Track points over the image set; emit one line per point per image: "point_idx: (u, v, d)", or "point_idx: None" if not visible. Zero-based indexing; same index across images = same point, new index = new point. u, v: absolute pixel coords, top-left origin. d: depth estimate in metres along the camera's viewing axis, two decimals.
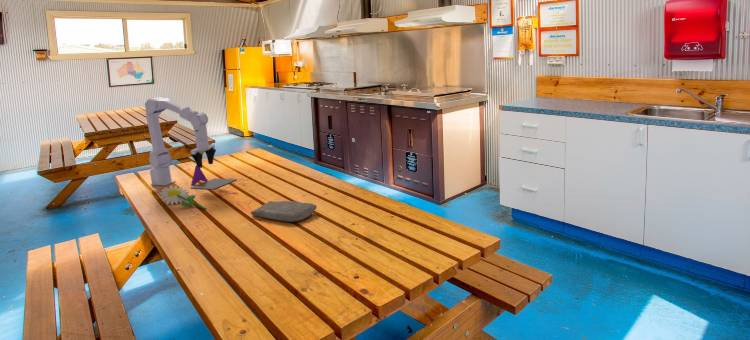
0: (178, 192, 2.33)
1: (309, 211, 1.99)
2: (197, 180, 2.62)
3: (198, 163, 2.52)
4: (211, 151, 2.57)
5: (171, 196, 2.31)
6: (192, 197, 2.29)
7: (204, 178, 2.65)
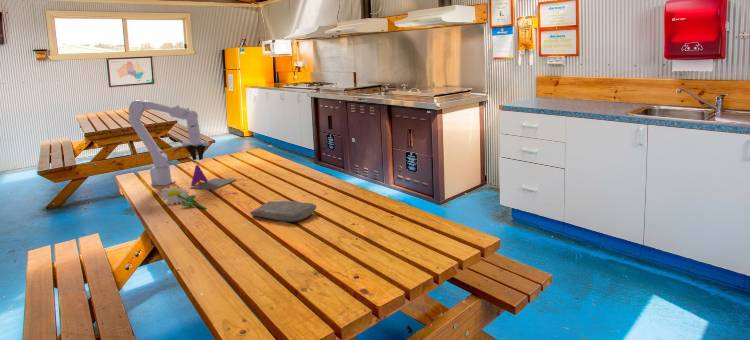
0: (178, 192, 2.33)
1: (309, 211, 1.99)
2: (197, 180, 2.62)
3: None
4: None
5: (171, 196, 2.31)
6: (192, 197, 2.29)
7: (204, 178, 2.65)
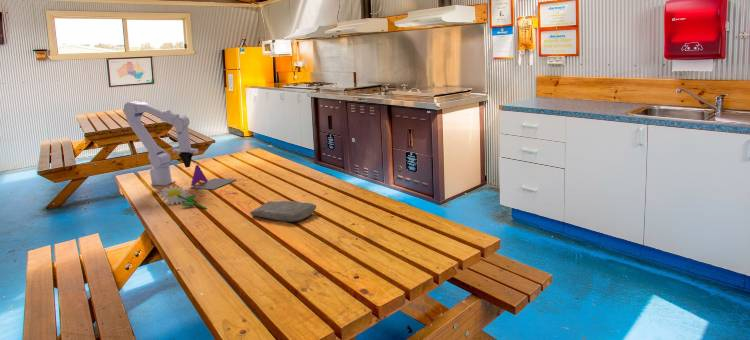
0: (178, 192, 2.33)
1: (309, 211, 1.99)
2: (197, 180, 2.62)
3: None
4: None
5: (171, 196, 2.31)
6: (192, 197, 2.29)
7: (204, 178, 2.65)
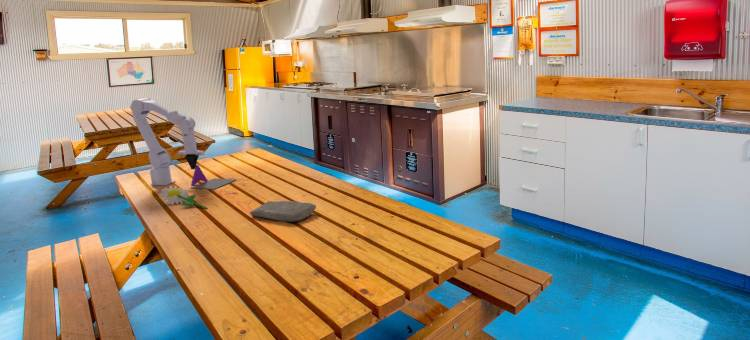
0: (178, 192, 2.33)
1: (309, 211, 1.99)
2: (197, 180, 2.62)
3: None
4: None
5: (171, 196, 2.31)
6: (193, 197, 2.30)
7: (204, 178, 2.65)
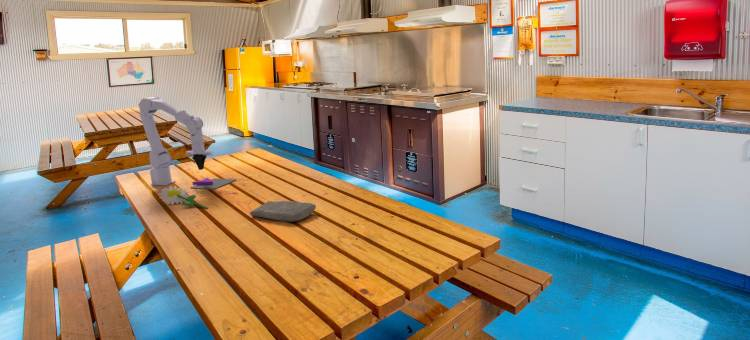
0: (178, 192, 2.33)
1: (309, 211, 1.99)
2: None
3: None
4: None
5: (171, 196, 2.30)
6: (193, 197, 2.30)
7: None
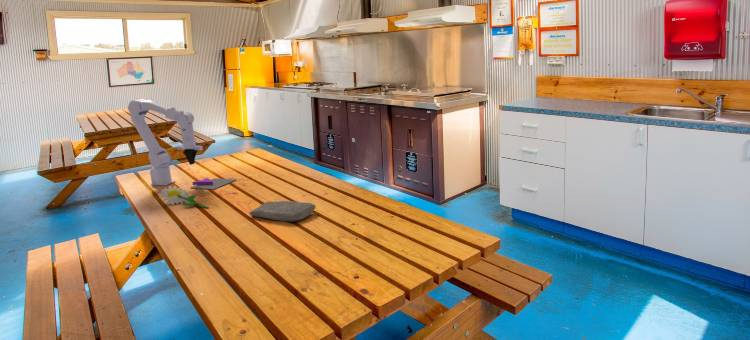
0: (178, 192, 2.33)
1: (308, 211, 1.99)
2: None
3: None
4: None
5: (171, 196, 2.30)
6: (193, 197, 2.30)
7: None
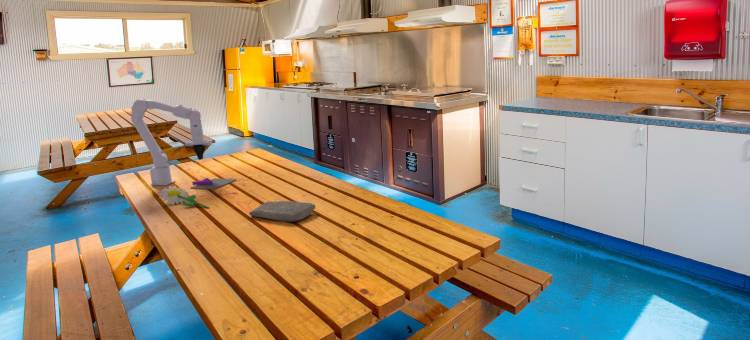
0: (178, 192, 2.33)
1: (308, 211, 1.99)
2: None
3: None
4: None
5: (171, 196, 2.30)
6: (193, 197, 2.30)
7: None
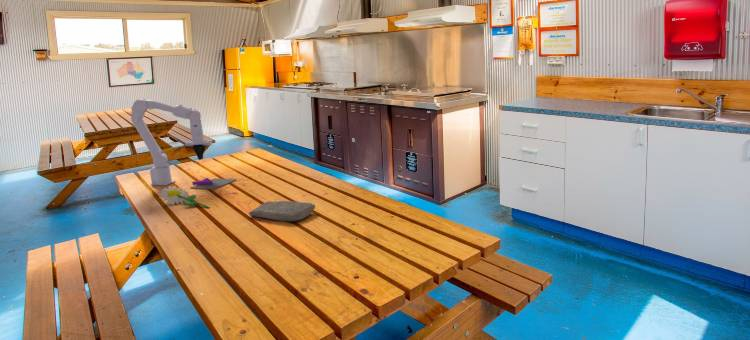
0: (178, 192, 2.33)
1: (308, 210, 1.99)
2: None
3: None
4: None
5: (171, 196, 2.30)
6: (193, 197, 2.30)
7: None
